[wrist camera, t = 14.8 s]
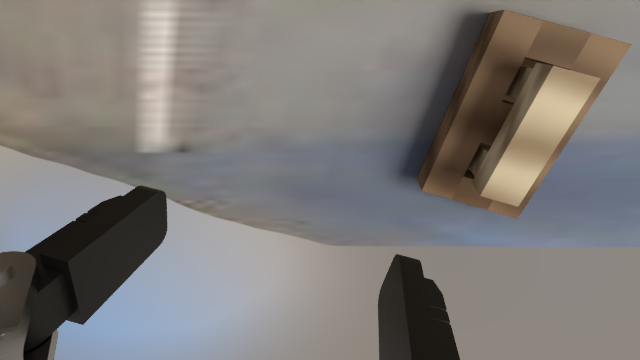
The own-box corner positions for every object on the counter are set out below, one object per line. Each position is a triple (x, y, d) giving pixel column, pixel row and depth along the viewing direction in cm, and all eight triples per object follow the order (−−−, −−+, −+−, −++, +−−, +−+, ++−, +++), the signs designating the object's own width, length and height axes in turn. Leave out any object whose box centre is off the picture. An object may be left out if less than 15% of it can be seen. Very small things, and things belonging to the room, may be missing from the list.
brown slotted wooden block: (490, 12, 32) (504, 9, 29) (602, 43, 32) (631, 44, 28) (417, 177, 41) (421, 190, 38) (504, 202, 41) (517, 218, 37)
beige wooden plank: (513, 58, 33) (553, 65, 26) (550, 68, 33) (600, 78, 25) (460, 165, 39) (480, 195, 31) (491, 174, 38) (518, 206, 31)
